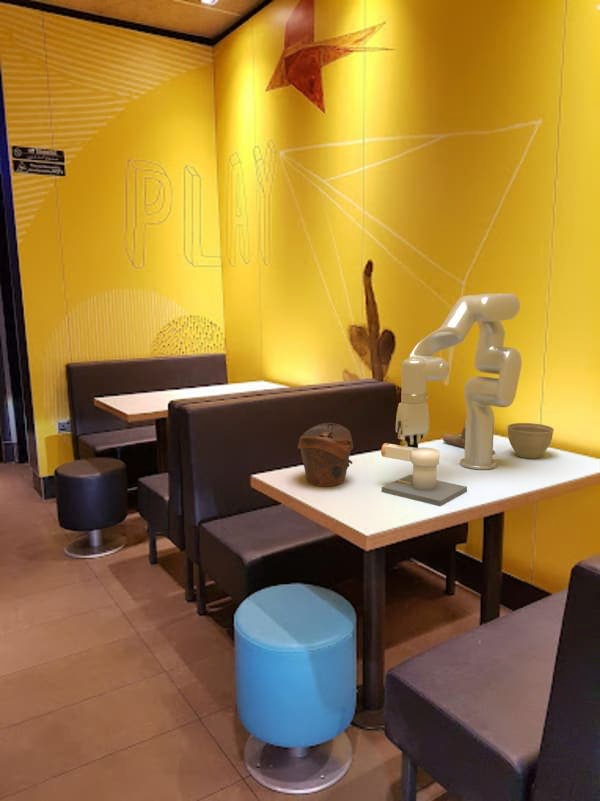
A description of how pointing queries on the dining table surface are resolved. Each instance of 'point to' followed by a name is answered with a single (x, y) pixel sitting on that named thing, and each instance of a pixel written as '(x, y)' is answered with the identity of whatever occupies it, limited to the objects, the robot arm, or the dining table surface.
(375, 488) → the dining table surface
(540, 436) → the planter bowl
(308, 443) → the brown domed pot
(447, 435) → the pipe
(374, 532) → the dining table surface
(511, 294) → the robot arm
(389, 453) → the cream piece
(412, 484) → the base
